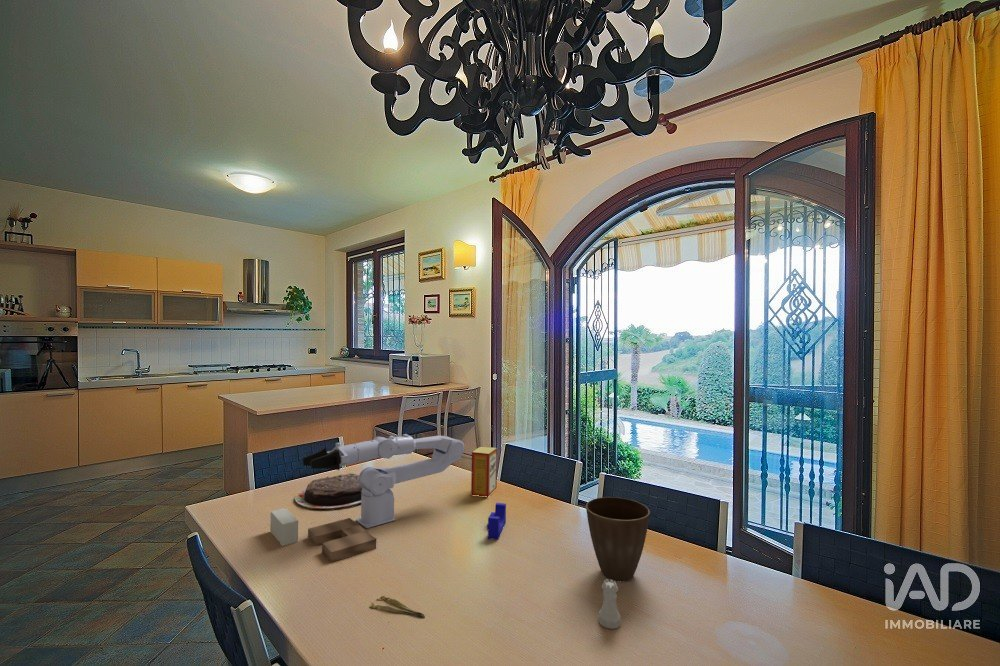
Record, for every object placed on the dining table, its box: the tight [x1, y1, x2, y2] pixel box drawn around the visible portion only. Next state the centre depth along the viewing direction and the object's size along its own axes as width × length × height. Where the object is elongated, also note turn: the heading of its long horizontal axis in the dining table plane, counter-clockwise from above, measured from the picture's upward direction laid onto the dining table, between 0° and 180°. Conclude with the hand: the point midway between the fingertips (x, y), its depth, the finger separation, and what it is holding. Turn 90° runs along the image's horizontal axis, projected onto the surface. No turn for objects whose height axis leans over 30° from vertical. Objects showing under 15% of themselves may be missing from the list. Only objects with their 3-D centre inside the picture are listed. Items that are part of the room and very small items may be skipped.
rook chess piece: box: [597, 578, 622, 630], centre depth 89 cm, size 4×4×8 cm
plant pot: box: [585, 496, 651, 583], centre depth 107 cm, size 15×15×16 cm
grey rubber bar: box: [269, 507, 299, 547], centre depth 125 cm, size 4×12×6 cm, turn 41°
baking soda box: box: [470, 446, 498, 497], centre depth 164 cm, size 10×6×16 cm
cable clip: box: [486, 502, 507, 540], centre depth 132 cm, size 12×4×6 cm, turn 169°
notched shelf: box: [307, 517, 377, 563], centre depth 122 cm, size 12×18×2 cm, turn 41°
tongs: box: [369, 595, 426, 619], centre depth 93 cm, size 4×13×2 cm, turn 70°
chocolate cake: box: [294, 473, 362, 511], centre depth 158 cm, size 28×28×7 cm
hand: (307, 463), depth 124 cm, fingers open, 7 cm apart
